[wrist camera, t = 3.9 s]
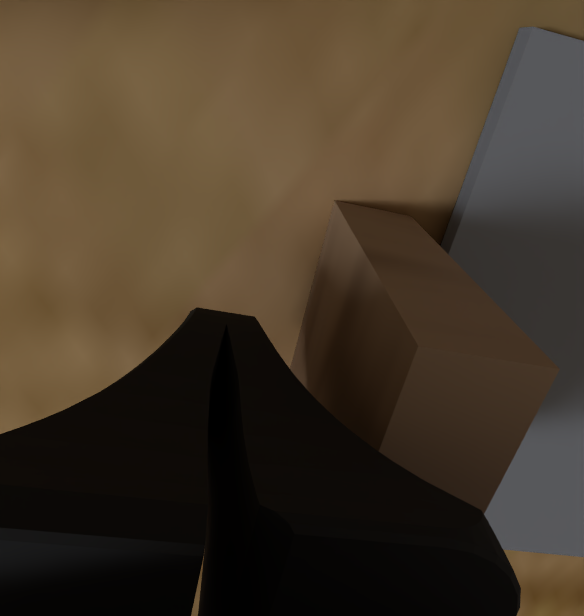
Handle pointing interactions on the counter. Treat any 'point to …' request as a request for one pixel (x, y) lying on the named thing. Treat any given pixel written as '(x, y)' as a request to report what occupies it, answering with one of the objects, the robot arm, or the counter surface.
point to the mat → (535, 274)
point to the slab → (417, 354)
